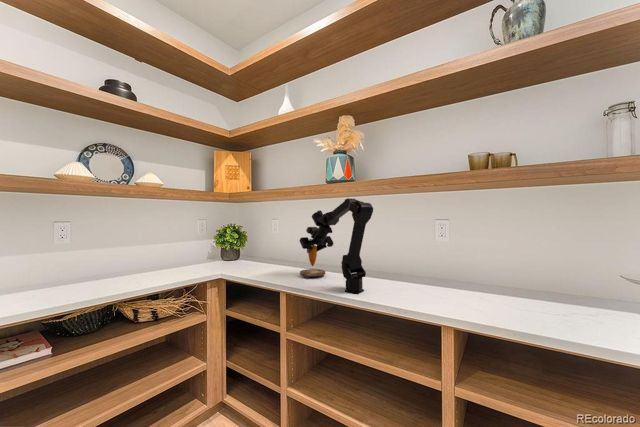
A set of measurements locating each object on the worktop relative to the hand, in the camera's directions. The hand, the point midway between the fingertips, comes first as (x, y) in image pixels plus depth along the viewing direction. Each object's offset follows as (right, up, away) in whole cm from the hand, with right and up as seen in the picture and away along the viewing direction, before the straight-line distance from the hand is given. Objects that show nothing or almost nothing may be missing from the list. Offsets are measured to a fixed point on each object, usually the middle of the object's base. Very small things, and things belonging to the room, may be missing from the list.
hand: (311, 252), depth 148 cm
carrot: (+1, -8, -1) cm, 8 cm away
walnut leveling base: (+1, -13, -1) cm, 13 cm away
